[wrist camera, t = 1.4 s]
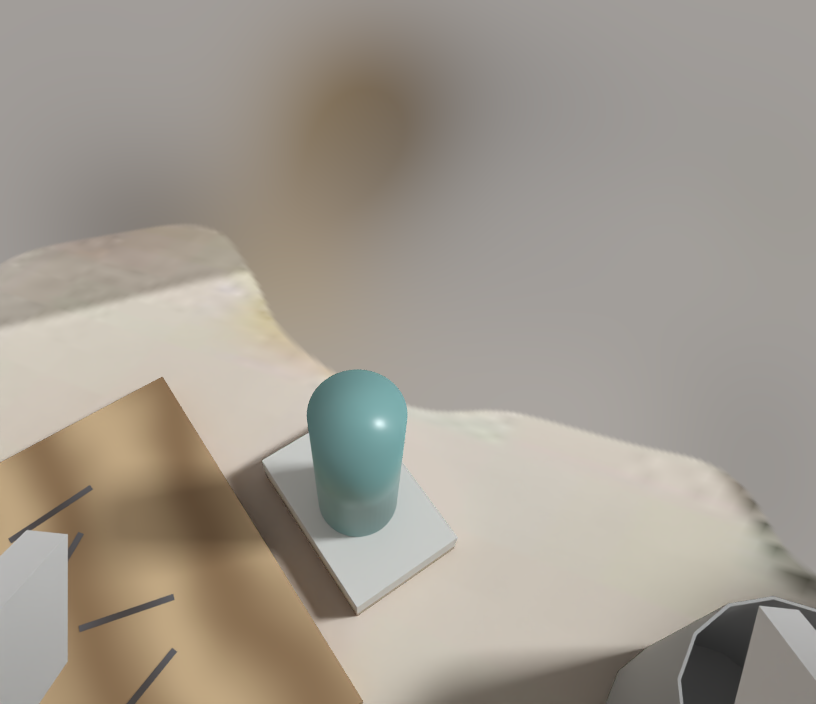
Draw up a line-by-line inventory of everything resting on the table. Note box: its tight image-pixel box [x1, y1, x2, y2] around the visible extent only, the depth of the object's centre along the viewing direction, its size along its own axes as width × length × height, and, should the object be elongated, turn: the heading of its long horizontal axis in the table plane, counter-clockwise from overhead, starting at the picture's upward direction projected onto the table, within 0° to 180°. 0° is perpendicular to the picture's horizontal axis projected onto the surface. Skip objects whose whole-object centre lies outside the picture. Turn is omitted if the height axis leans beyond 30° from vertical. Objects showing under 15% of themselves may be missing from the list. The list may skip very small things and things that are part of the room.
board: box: [0, 377, 363, 704], centre depth 37 cm, size 16×20×2 cm
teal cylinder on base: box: [262, 370, 458, 616], centre depth 36 cm, size 6×9×12 cm, turn 35°
